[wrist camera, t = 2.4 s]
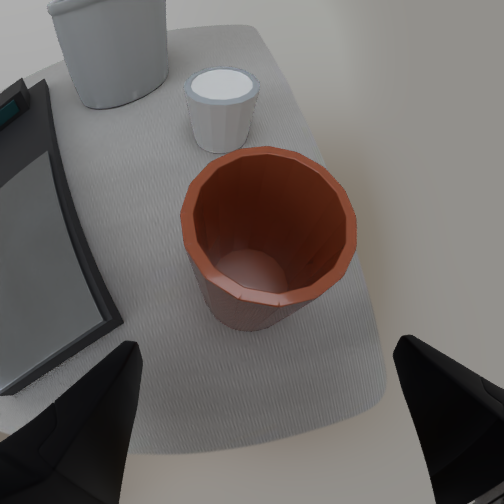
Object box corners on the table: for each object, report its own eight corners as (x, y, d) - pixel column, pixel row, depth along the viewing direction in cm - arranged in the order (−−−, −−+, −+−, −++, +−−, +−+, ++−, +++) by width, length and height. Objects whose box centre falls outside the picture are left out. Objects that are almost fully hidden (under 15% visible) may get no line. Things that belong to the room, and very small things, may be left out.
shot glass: (190, 161, 25) (183, 108, 19) (187, 118, 28) (183, 68, 21) (258, 155, 26) (268, 102, 20) (247, 112, 29) (253, 64, 22)
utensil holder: (178, 52, 34) (175, -39, 17) (168, 102, 29) (154, -26, 12) (96, 67, 32) (76, -14, 16) (66, 122, 27) (23, 20, 10)
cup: (308, 298, 22) (386, 239, 11) (237, 349, 20) (252, 346, 9) (257, 231, 23) (285, 128, 12) (187, 275, 21) (151, 192, 10)
